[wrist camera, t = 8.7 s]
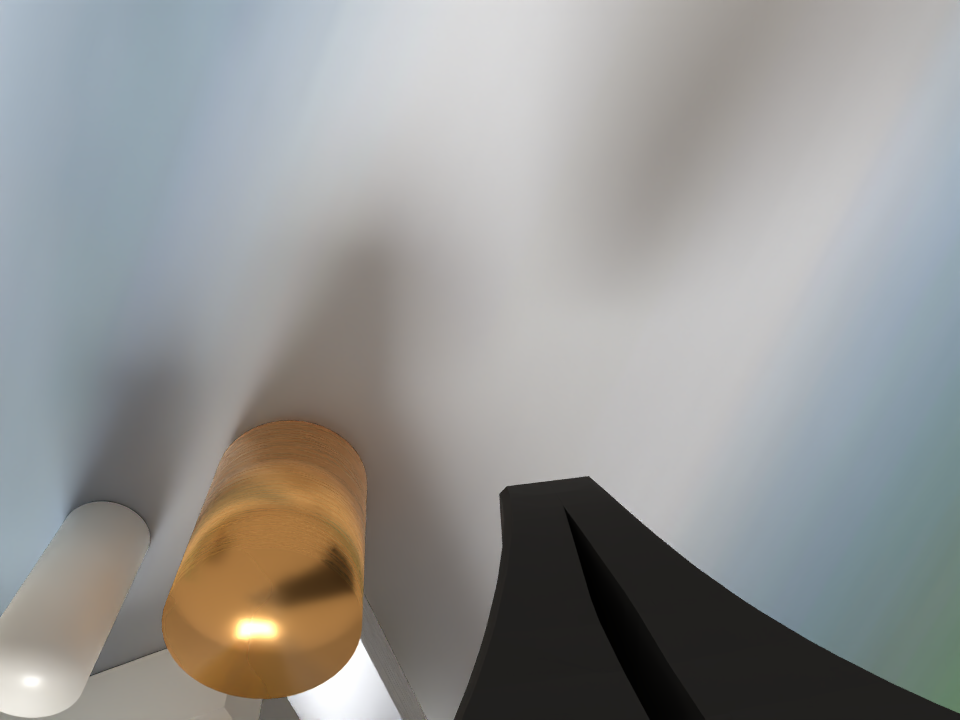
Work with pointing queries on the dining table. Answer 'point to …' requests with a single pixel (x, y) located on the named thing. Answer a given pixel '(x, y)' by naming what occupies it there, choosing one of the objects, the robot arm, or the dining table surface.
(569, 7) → the dining table surface
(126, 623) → the dining table surface
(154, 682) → the socket
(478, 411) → the dining table surface
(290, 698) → the gold-tipped lever
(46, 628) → the post
